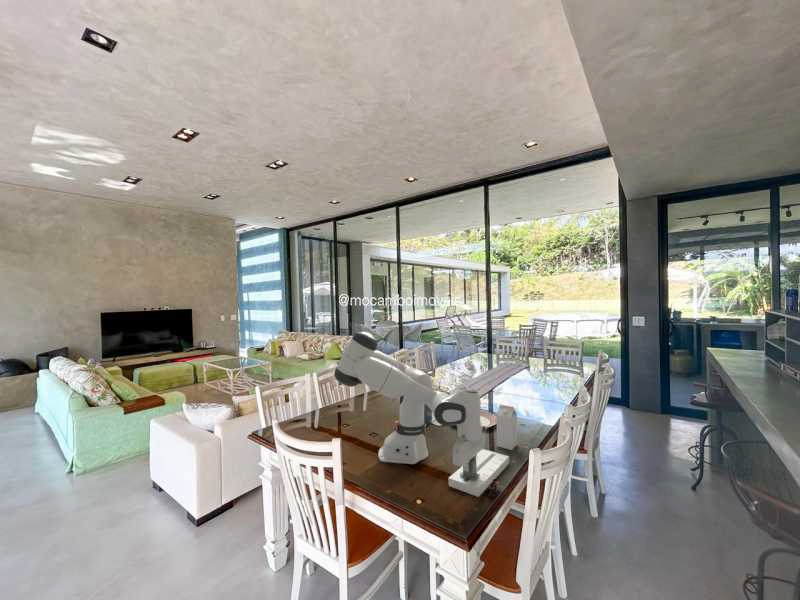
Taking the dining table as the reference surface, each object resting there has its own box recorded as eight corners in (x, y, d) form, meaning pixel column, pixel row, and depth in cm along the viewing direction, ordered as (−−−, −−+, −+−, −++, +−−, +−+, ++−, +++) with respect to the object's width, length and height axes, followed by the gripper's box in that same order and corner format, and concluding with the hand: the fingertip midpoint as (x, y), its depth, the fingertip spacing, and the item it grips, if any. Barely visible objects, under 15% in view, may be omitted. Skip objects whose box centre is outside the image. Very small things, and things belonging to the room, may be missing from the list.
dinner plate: (499, 434, 174) (499, 428, 174) (446, 431, 179) (446, 425, 179) (495, 416, 200) (495, 410, 200) (449, 413, 206) (449, 408, 206)
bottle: (425, 425, 188) (424, 371, 188) (411, 420, 194) (410, 368, 194) (435, 420, 195) (434, 368, 195) (421, 416, 202) (421, 366, 201)
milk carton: (502, 441, 165) (502, 402, 165) (517, 445, 160) (516, 405, 160) (496, 446, 159) (496, 406, 159) (511, 450, 155) (511, 409, 155)
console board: (478, 497, 119) (478, 488, 119) (448, 485, 126) (448, 477, 126) (509, 463, 143) (509, 456, 143) (482, 455, 150) (482, 448, 150)
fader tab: (474, 480, 124) (474, 463, 124) (459, 475, 127) (459, 459, 127) (479, 475, 127) (479, 459, 127) (465, 470, 131) (465, 454, 131)
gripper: (463, 443, 117) (464, 483, 117) (488, 425, 133) (488, 460, 133) (447, 438, 121) (448, 477, 121) (473, 421, 137) (473, 455, 137)
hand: (469, 468), depth 127 cm, fingers closed on fader tab, 3 cm apart
